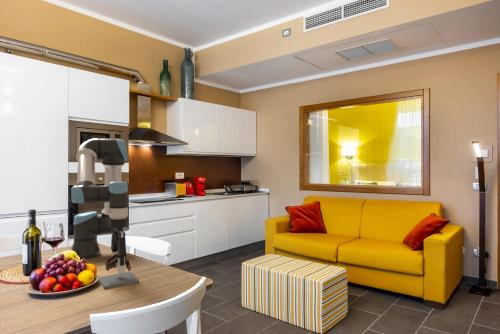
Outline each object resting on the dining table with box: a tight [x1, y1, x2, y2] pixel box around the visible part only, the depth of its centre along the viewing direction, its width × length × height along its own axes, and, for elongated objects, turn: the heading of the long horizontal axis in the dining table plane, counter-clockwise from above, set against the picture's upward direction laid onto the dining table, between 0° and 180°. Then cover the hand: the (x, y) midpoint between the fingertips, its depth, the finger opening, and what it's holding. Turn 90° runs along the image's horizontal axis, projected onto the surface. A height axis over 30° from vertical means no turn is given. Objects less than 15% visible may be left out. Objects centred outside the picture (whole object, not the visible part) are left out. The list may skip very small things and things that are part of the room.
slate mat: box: [97, 271, 141, 290], centre depth 148 cm, size 14×14×1 cm
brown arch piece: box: [104, 254, 132, 272], centre depth 149 cm, size 12×10×8 cm
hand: (118, 269), depth 148 cm, fingers closed on brown arch piece, 10 cm apart
